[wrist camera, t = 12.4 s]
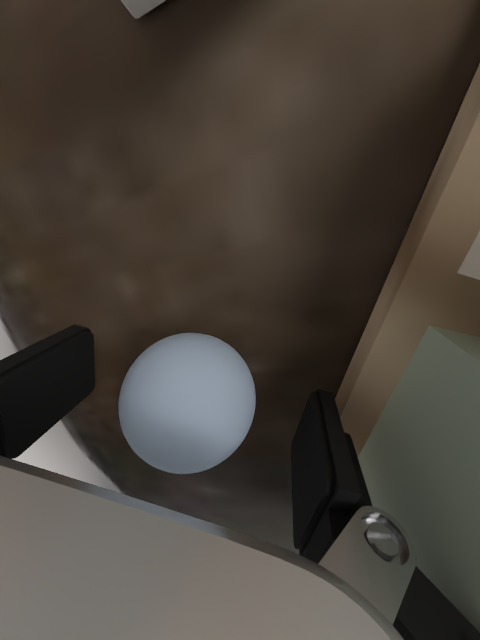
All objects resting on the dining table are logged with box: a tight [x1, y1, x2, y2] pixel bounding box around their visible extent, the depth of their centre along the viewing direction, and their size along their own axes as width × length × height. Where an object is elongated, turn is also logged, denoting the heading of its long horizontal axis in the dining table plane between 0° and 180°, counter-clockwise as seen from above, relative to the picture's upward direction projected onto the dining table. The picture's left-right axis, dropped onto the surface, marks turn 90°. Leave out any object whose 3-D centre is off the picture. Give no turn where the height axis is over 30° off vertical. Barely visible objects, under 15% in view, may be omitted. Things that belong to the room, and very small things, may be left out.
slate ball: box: [118, 333, 256, 474], centre depth 10 cm, size 5×5×5 cm
